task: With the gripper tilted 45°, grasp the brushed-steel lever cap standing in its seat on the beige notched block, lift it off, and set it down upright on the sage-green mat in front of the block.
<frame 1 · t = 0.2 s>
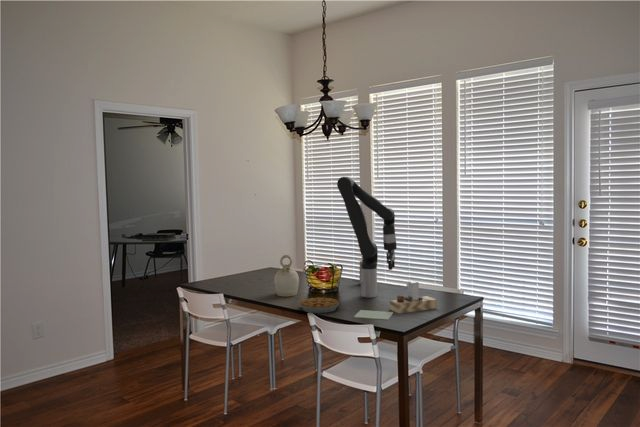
hand: (391, 268, 303), 18 cm above the table, tool pointing down, fingers open, 8 cm apart
lever cap: (413, 299, 276), point 5 cm above the table, touching beige notched block
pie: (319, 309, 281), on the table
beige notched block: (413, 308, 276), on the table
jug: (287, 294, 317), on the table
mat: (373, 315, 265), on the table
skincare box: (366, 284, 345), on the table
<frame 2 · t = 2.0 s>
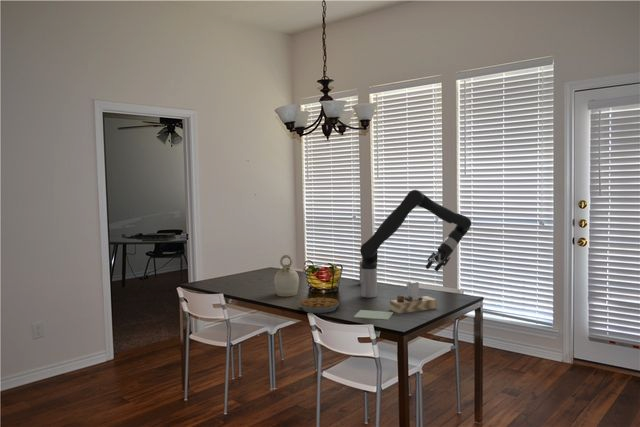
hand: (431, 269, 280), 21 cm above the table, tool tilted 45°, fingers open, 8 cm apart
nothing on the table moved.
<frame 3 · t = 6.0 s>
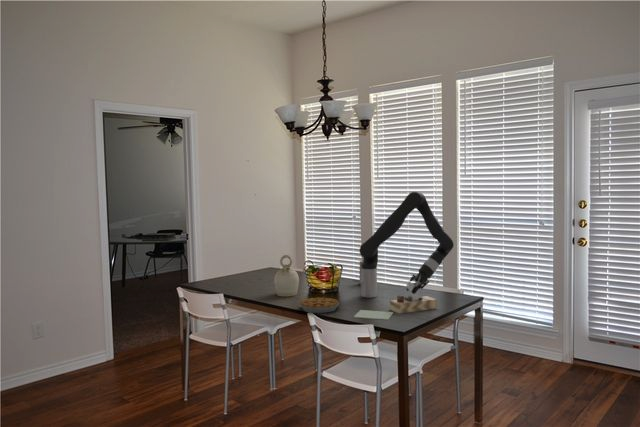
hand: (410, 291, 275), 10 cm above the table, tool tilted 45°, fingers closed on lever cap, 4 cm apart
lever cap: (413, 299, 276), point 5 cm above the table, touching gripper, beige notched block
everything else where it was.
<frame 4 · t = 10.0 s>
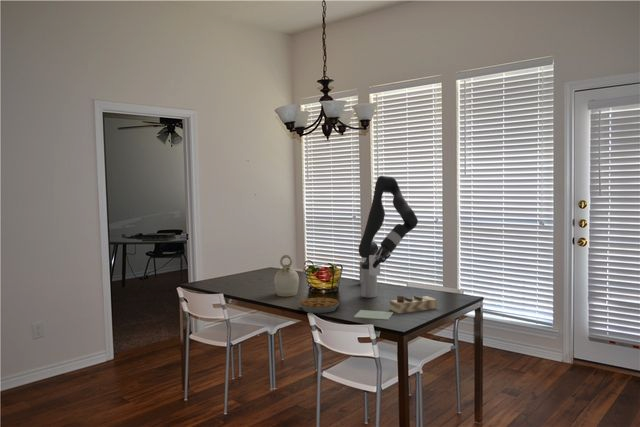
hand: (371, 266, 263), 26 cm above the table, tool tilted 45°, fingers closed on lever cap, 4 cm apart
lever cap: (374, 274, 264), point 21 cm above the table, touching gripper
everything else where it was.
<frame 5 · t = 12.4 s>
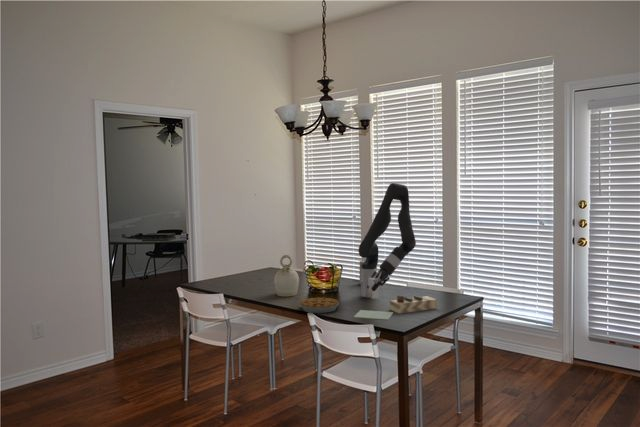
hand: (370, 289, 263), 14 cm above the table, tool tilted 45°, fingers closed on lever cap, 4 cm apart
lever cap: (373, 297, 264), point 9 cm above the table, touching gripper
everything else where it was.
when the fingers open (6 cm above the table, at t = 14.3 s): lever cap drops 1 cm, resting on mat.
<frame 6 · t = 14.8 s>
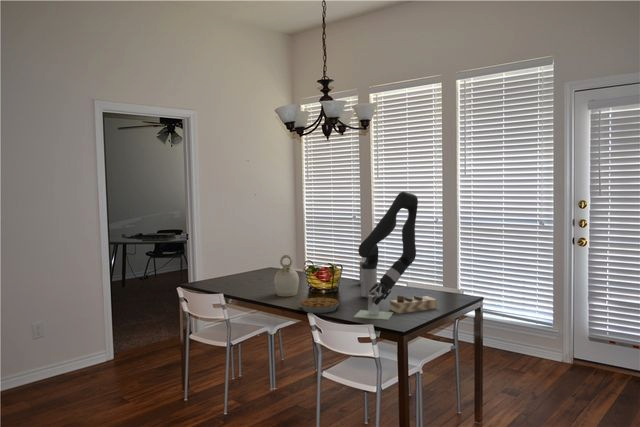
hand: (371, 302, 264), 7 cm above the table, tool tilted 45°, fingers open, 8 cm apart
lever cap: (373, 314, 265), resting on mat
everything else where it was.
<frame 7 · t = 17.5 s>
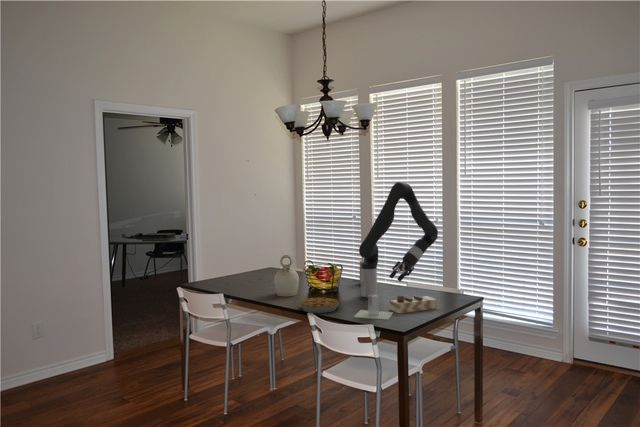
hand: (394, 278, 269), 18 cm above the table, tool tilted 45°, fingers open, 8 cm apart
nothing on the table moved.
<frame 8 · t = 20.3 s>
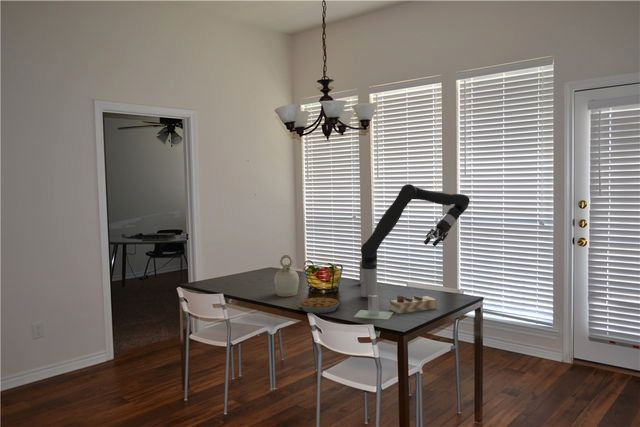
hand: (429, 244, 286), 34 cm above the table, tool tilted 45°, fingers open, 8 cm apart
nothing on the table moved.
at the end: lever cap inside the target area on the mat (0.3 cm from its centre), point 0.4 cm above the mat's base; lever cap tilted 0°; lever cap touching mat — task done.
